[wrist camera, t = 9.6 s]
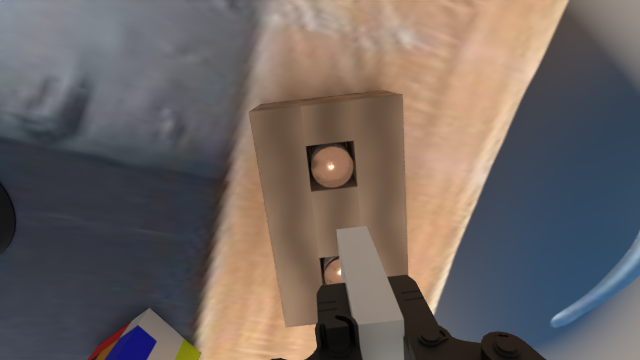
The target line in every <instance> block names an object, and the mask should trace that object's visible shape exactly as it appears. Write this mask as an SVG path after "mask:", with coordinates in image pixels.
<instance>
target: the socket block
mask: <svg viewBox="0 0 640 360" xmlns="http://www.w3.org/2000/svg"><path fill="white" fill-rule="evenodd" d="M249 115H250V121H251V127H252V133H253V139H254V144H255V150H256V156H257V162H258V168H259V174H260V180H261V186H262V191H263V197H264V203H265V209H266V215H267V221H268V227H269V233H270V238H271V244H272V250H273V256H274V262H275V268H276V274H277V280H278V285H279V291H280V297H281V303H282V309H283V315H284V321H285V327H294V326H303V325H311V324H317V322H318V316H317V295H316V294H317V292H318V290H319V288H320V286H321V285H327V284H326V282H325V278H324V267H323V257H332V256H339V251H338V241H337V231H336V229H345V228H354V227H362V226H367V228H368V231H369V233H370V236H371V238H372V241H373V243H374V246H375V248H376V251H377V253H378V256H379V258H380V261H381V263H382V266H383V268H384V271H385V273H386V276H387V277H390V276H398V275H408V254H407V223H406V192H405V161H404V130H403V99H402V94H397V93H393V92H388V91H375V92H366V93H357V94H348V95H340V96H331V97H322V98H313V99H304V100H296V101H287V102H278V103H269V104H261V105H259V106H257V107H256V108H254V109H253V110H251V111H250V112H249ZM345 141H346V147H347V151H348V153H349V155H350V157H351V159H352V162H353V172H352V175H351V177H350V178H349V180H348V181H347V182H346V183H344V184H343V185H341V186H338V187H326V186H323V185H321V184H320V183H318V182H317V181H316V180H315V178H314V176H313V174H312V170H310V163H309V155H308V146H310V145H319V144H328V143H337V142H345Z"/></svg>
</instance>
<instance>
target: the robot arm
mask: <svg viewBox="0 0 640 360" xmlns="http://www.w3.org/2000/svg"><path fill="white" fill-rule="evenodd" d="M14 228H15V218H14V212H13V208H12V205H11V203H10V200H9V198H8V196H7V194H6V193H5V191H4V190H3V188H2V187H1V185H0V254H1V253H2V252H3V251H4V250H5V249H6V248H7V246H8V245H9V243H10V241H11V239H12V237H13V233H14ZM336 231H337V241H338V251H339V260H340V270H341V279H342V283H337V284H328V285H321V286H320V288H319V290H318V292H317V294H316V295H317V316H318V322H317V324H316V327H315V335H316V342H317V348H316V350H315V351H314V353H313V354H312V355H311V356H310V357H308V358H307V359H305V360H546V359H545V358H543V357H542V356H541V355H540V354H539V353H538V352H536V351H535V350H534V349H533V348H532V347H531V346H529V345H528V344H527V343H526V342H525V341H523V340H522V339H520V338H518V337H517V336H514V335H512V334H509V333H505V332H491V333H488V334H486V335H485V336H484V337H483V339H482V341H481V343H476V342H469V341H462V340H459V339H456V338H454V337H452V336H451V335H450V333H449V332H448V331H447V330H446V329H444V328H442V327H441V326H439V325H438V323H437V322H436V320H435V318H434V316H433V314H432V312H431V310H430V308H429V306H428V304H427V302H426V301H425V299H424V297H423V295H422V293H421V292H420V289H419V287H418V285H417V283H416V282H415V281H414V280H413V279H412V278H410V277H409V276H408V275H398V276H390V277H387V276H386V273H385V271H384V268H383V266H382V263H381V261H380V258H379V256H378V253H377V251H376V248H375V246H374V243H373V241H372V238H371V236H370V233H369V231H368V228H367V226H362V227H354V228H345V229H336ZM271 360H285V359H282V358H277V359H271Z"/></svg>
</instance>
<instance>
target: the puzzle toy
mask: <svg viewBox="0 0 640 360" xmlns="http://www.w3.org/2000/svg"><path fill="white" fill-rule="evenodd" d="M200 354H201V353H200V352H199V351H198V350H197V349H196V348H194V347H193V346H192V345H191V344H190V343H189V342H188V341H186V340H185V339H184V338H183V337H182V336H181V335H180V334H178V333H177V332H176V331H175V330H174V329H173V328H172V327H171V326H169V325H168V324H167V323H166V322H165V321H164V320H163V319H161V318H160V317H159V316H158V315H157V314H156V313H155V312H153V311H152V310H151V309H150V308H149V309H147V310H146V311H145V312H143V313H142V314H140V315H139V316H138V317H136V318H135V319H134V320H132V321H131V322H130V323H128V324H127V325H126V326H124V327H123V328H122V329H120V330H119V331H118V332H116V333H115V334H113V335H112V336H111V337H109V338H108V339H107V340H105V341H104V342H103V343H101V344H100V345H99V346H98V347H97V348H96V350H95V351H94V352H93V353H92V355H91V356H90V357H89V359H88V360H198V359H199V357H200Z"/></svg>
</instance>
